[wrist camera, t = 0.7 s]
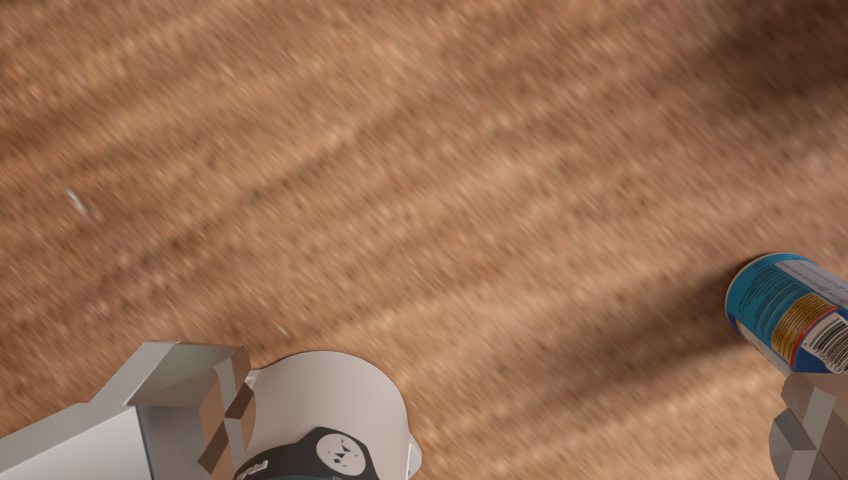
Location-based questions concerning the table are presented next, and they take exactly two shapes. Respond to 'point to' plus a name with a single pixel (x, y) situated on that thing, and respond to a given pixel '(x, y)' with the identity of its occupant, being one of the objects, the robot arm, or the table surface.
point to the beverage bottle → (791, 313)
